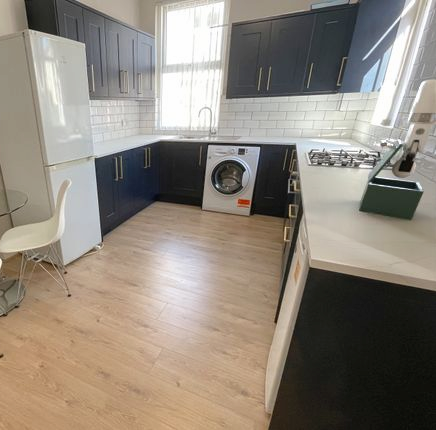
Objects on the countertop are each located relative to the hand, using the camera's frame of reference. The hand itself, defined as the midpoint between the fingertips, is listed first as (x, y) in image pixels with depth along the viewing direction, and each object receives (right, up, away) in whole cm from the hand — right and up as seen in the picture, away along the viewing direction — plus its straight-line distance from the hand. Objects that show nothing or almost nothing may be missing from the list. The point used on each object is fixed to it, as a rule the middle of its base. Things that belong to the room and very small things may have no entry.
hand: (403, 169), depth 103 cm
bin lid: (-4, +3, +2) cm, 6 cm away
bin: (-1, -15, +7) cm, 16 cm away
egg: (0, -3, +1) cm, 3 cm away
